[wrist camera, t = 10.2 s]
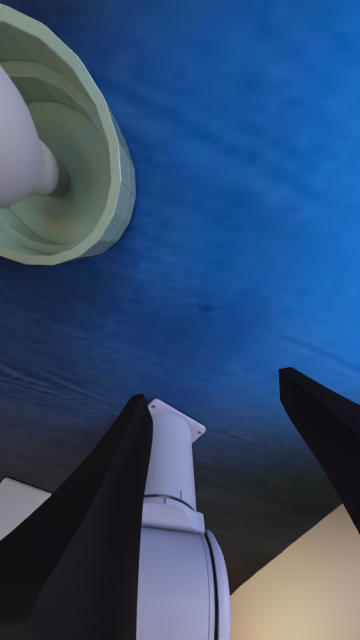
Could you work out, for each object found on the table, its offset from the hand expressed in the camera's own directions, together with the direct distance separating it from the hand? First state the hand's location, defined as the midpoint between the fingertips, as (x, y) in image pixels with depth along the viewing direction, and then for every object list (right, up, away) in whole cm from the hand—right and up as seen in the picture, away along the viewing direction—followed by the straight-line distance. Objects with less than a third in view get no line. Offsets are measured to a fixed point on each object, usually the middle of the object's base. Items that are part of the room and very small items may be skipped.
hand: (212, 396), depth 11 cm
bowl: (-11, +15, +5) cm, 19 cm away
